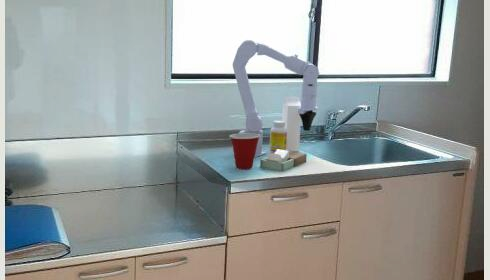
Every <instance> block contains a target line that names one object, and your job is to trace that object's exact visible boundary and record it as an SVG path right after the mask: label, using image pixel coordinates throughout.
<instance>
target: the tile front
mask: <svg viewBox="0 0 490 280" xmlns="http://www.w3.org/2000/svg"><path fill="white" fill-rule="evenodd" d="M267 160H268V161H274V162H280V163H283V162H284V161H283V159H282V157H281V155H278V154H272V153H270V152H268V154H267Z"/></svg>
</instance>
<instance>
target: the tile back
mask: <svg viewBox="0 0 490 280" xmlns="http://www.w3.org/2000/svg"><path fill="white" fill-rule="evenodd" d="M274 154H278V155H281V157H282V159H283V161H284V162H285V161H287V159H288V158H289V157H290V156H289V151H286V150H280V149H277V151H276V152H275V153H274Z"/></svg>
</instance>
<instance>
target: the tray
mask: <svg viewBox="0 0 490 280" xmlns="http://www.w3.org/2000/svg"><path fill="white" fill-rule="evenodd" d="M293 167H294V159H290V160H288V161H285V162H283V163H280V162H274V161H268V160H267V157H264V158H261V159H260V160H259V168H262V169H267V170H273V171H279V172H285V171H287V170H289V169H291V168H293ZM294 168H295V167H294Z"/></svg>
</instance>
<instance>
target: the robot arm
mask: <svg viewBox="0 0 490 280" xmlns="http://www.w3.org/2000/svg"><path fill="white" fill-rule="evenodd" d="M255 55H257V56H266V57H269V58H271V59H273V60H276V61H277V62H278V61H279V62H280V63H282V64H283V65H284V68H285V69H286V70H289V71H291V72H293V73H295V74H297V75H299V76H301V75H302V77H303V78H302V84H301V85H302V86H301V97H300V98H301V99H300V103H301V106H300V108H298V114H299V115H300V117H301V123H302V129H303V131H305V132H306V131H307V132H309V131H311V127H312V124H313V121H314V119H315V117H316V115H317V112H316V111H318V110H319V107H318V105H317V91H318V77H319V75H320V71H319V68H318V67H317V66H316V65H315V64H313V63H311V62H310V61H309V60H304V59H302V58H300V57H299V55H297V54H293V53H292V54H289V55H286V54H284V53H282V52H280V51H278V50H276V49H274V48H272V47H270V46H269V45H267V44H264V43H260V42H257V41H256V42H255V41H253V40H252V39H245V40H244V41H243V42H242V43H241V44H240V45H239V46H238V48H237V50H236V54H235V57H234V58H233V59H234V60H233V61H232V69H233V72H234V77H235V79H236V83H237V87H238V91H239V94H240V98H241V102H242V105H243V106H242V107H243V109H244V114H245V118H246V119H245V127H246V128H244V130H240V131H239V132H238V134H239V133H255V134H260V137H259V139H258V144H257V148H256V153H255V158H257V157H260V156H263V155H265V154H266V153H267V152H266V151H263V138H264V137H263V135H264V133H263V132H264V131H263V129H262V128H263V119H262V117H261V115H260V114H259V112H258V110H257V106H256V102H255V99H254V94H253V92H252V88H251V83H250V81H249V77H248V76H249V75H248V73H247V69H246V66H247V64H248V63H249V60H250V59H252V58H253V57H254V56H255Z"/></svg>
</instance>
